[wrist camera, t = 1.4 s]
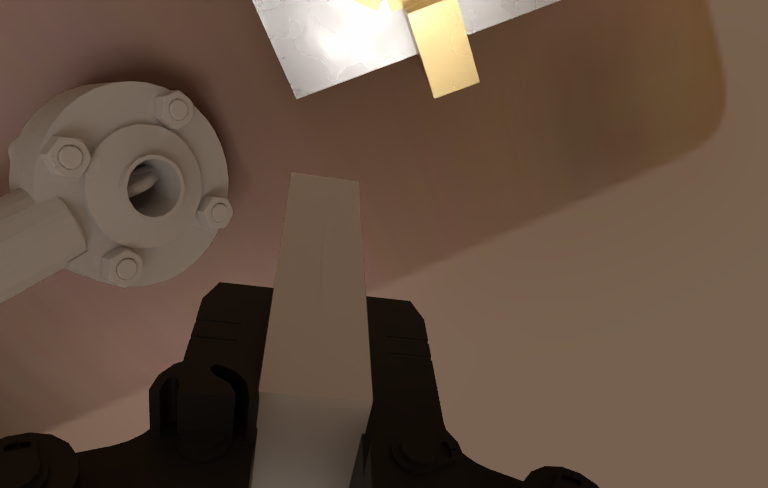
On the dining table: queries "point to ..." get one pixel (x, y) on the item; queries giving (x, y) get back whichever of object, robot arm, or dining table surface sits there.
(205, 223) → the mechanical valve
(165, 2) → the dining table surface
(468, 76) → the ring nut
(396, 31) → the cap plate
